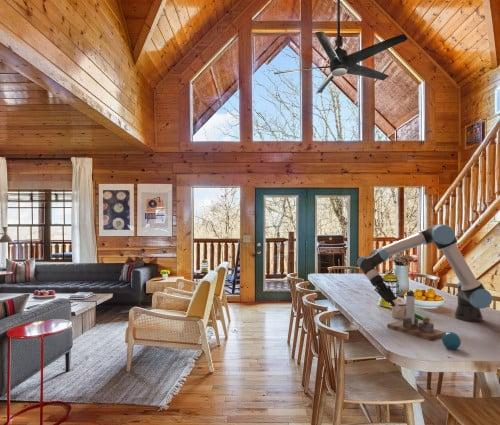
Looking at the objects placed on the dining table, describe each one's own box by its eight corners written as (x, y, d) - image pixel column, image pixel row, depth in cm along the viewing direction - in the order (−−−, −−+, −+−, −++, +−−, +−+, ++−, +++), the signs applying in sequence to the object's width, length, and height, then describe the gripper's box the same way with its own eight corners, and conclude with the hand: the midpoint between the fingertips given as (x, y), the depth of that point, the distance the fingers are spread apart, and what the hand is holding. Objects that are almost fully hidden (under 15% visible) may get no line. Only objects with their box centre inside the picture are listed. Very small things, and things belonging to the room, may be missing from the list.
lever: (405, 323, 194) (404, 289, 195) (409, 322, 196) (409, 289, 197) (411, 325, 191) (411, 291, 192) (415, 324, 193) (415, 290, 194)
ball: (442, 350, 163) (442, 333, 163) (441, 345, 170) (440, 328, 170) (462, 353, 160) (462, 335, 160) (459, 347, 167) (459, 330, 167)
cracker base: (387, 327, 198) (387, 311, 198) (401, 323, 206) (401, 308, 206) (431, 340, 176) (431, 322, 177) (446, 335, 184) (445, 318, 184)
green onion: (430, 322, 212) (397, 308, 241) (430, 317, 212) (398, 303, 241) (423, 323, 211) (391, 308, 240) (423, 318, 211) (392, 304, 240)
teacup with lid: (408, 319, 216) (407, 300, 216) (392, 318, 218) (392, 299, 218) (404, 314, 227) (404, 296, 228) (389, 313, 230) (389, 296, 230)
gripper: (377, 280, 220) (401, 312, 205) (364, 282, 213) (388, 315, 198) (385, 273, 215) (410, 305, 201) (371, 275, 208) (396, 308, 194)
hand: (399, 310), depth 200 cm, fingers closed
